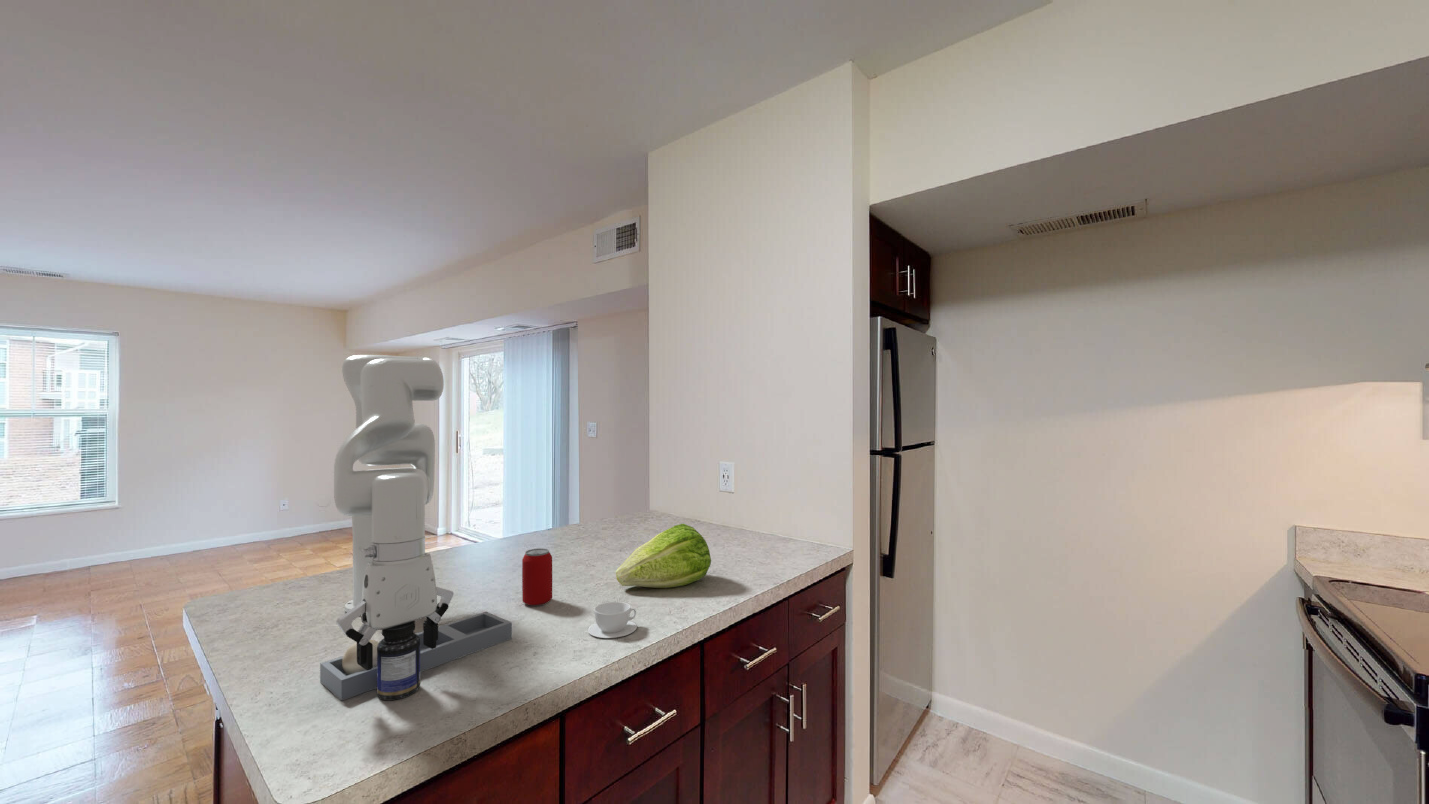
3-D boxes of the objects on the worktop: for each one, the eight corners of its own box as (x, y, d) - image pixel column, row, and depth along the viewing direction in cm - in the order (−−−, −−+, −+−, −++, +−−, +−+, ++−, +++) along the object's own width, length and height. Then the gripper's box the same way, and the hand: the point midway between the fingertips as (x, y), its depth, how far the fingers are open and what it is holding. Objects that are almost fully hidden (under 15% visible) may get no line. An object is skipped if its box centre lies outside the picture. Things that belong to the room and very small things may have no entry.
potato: (336, 677, 94) (336, 641, 94) (375, 664, 99) (375, 630, 99) (350, 688, 90) (350, 651, 90) (390, 674, 95) (390, 639, 95)
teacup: (595, 644, 109) (595, 620, 109) (582, 626, 118) (582, 604, 118) (643, 634, 113) (643, 611, 113) (628, 617, 122) (628, 596, 122)
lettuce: (637, 619, 133) (623, 606, 148) (723, 571, 143) (702, 563, 157) (614, 562, 133) (601, 555, 147) (702, 518, 143) (682, 515, 157)
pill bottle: (388, 683, 93) (388, 616, 93) (426, 681, 94) (426, 615, 94) (369, 702, 87) (369, 631, 87) (410, 700, 88) (409, 630, 88)
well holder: (320, 682, 94) (320, 663, 94) (486, 626, 117) (486, 611, 117) (341, 700, 88) (341, 680, 88) (511, 638, 111) (511, 622, 111)
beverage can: (556, 597, 135) (556, 547, 135) (545, 608, 128) (545, 555, 128) (529, 597, 135) (529, 547, 135) (517, 607, 128) (517, 554, 129)
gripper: (347, 565, 81) (347, 684, 81) (462, 542, 95) (463, 644, 95) (328, 558, 86) (328, 670, 86) (441, 537, 100) (441, 634, 99)
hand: (399, 656), depth 90 cm, fingers open, 9 cm apart
